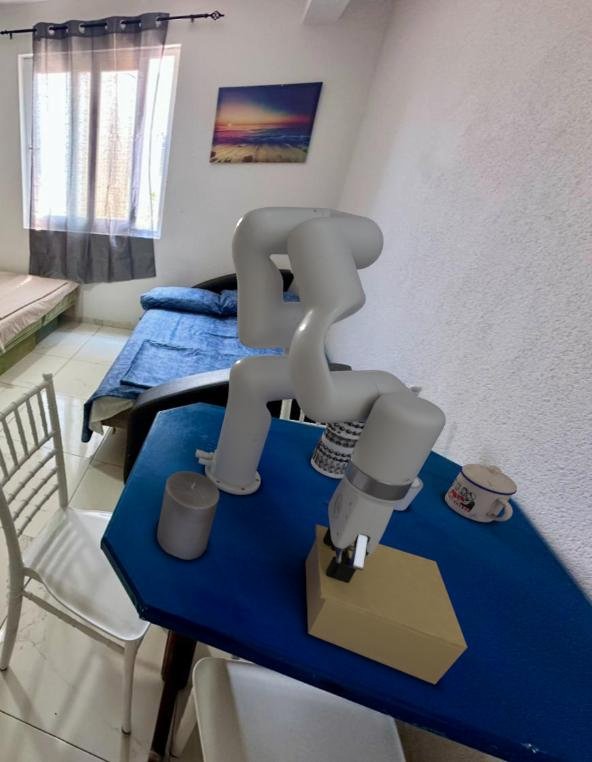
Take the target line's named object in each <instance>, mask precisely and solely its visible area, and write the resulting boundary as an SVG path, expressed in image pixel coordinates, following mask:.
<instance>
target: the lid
mask: <svg viewBox="0 0 592 762" xmlns="http://www.w3.org/2000/svg"><path fill="white" fill-rule="evenodd" d="M314 529H315V530H314V531H315V540H316V544H317V559H318V574H319V589H320V597H321V598H324V599H326V600H329V601H332V602H335V603H337V604H340V605H343V606H345V607H348V608H351V609H353V610H356V611H359V612H362V613H364V614H367V615H370V616H372V617H375V618H378V619H381V620H383V621H386V622H389V623H391V624H394V625H397V626H399V627H402V628H405V629H408V630H410V631H413V632H416V633H418V634H421V635H424V636H427V637H429V638H432V639H435V640H437V641H440V642H443V643H445V644H448V645H451V646H454V647H456V648H459V649H462V650H464V651H466V650H467V649H468V645H467V643H466V640H465V637H464V634H463V631H462V628H461V626H460V623H459V621H458V618H457V615H456V612H455V610H454V607H453V605H452V601H451V599H450V596H449V593H448V591H447V588H446V585H445V583H444V580H443V577H442V574H441V572H440V569H439V567H438V563H437V561H435V560H432V559H428V558H425V557H422V556H419V555H416V554H413V553H409V552H406V551H404V550H400V549H397V548H394V547H390V546H387V545H384V544H380V543H378V545H377V547H376V549H375V550H374V552H373V553H372V554H371V555H370V556H367V557H366V556H365V561H364V567H363V570H362V571H361V570H357V569H356V571H355V573H354V575H353V577H352V578H351V580H350V582H349V583H345V582H342V581H339V580H337V579H334V578H331V577H328V576H327V575H326V570H327V568H328V566H329V564H330V562H331V560H332V558H333V556H337V553H338V549H339V547H336V546H335V545H334V544H332V546H330V545H327V544H325V543H323V538H324V536H325V534H326V532H327V530H328V527H326V526H323V525H321V524H315V527H314ZM351 545H354V543H353V544H351ZM352 553H353V552H352V551H349V550H346V549H345V553H344V556H345V557H348V558H351V557H352Z"/></svg>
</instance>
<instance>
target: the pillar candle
mask: <svg viewBox="0 0 592 762" xmlns="http://www.w3.org/2000/svg"><path fill="white" fill-rule="evenodd" d="M219 490H220V489H219V488H218V487H217V486H216V485H215V484H214V482H212V481H211V480H210V479H209V478H207V476H206V475H204V474H201V473H199V472H195V471H190V470H181V471H177V472H174V473H172V474H171V475H169V477H168V478H167V480H166V483H165V488H164V493H163V497H162V498H163V499H162V503H161V504H162V505H161V510H160V515H159V521H158V526H157V533H156V536H157V537H156V538H157V542H158V544H159V545H160V547H161V548H162V549H163V550H164V551H165V552H166V553H167V554H169V555H171V556H174V557H175V558H178V559H182V560H193V559H196V558H199V557H201V556H202V555H203V553H204V552H205V550H207V547H208V543H209V539H210V534H211V530H212V527H213V523H214V518H215V514H216V511H217V507H218V503H219V499H220V491H219Z"/></svg>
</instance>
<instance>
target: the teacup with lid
mask: <svg viewBox="0 0 592 762" xmlns="http://www.w3.org/2000/svg"><path fill="white" fill-rule="evenodd" d="M459 470H460V472H459V473H458V475H457V477H456V478H455V479H454V481H453V483H452V484H451V487H449V489H448V491H447V492H446V494H445V497H444V500H445V502H446V504H447V505H448V507H450V508H451V509H452V510H453V511H454V512H456V513H458V514H459V515H461V516H463V517H465V518H467V519H469V520H472V521H476V522H480V523H481V522H482V523H491V522H493V521H496V522H505V521H507V520H509V519H511V517H512V515H513V513H514V512H513V511H514V510H513V507H512V505H511V504H510V503H509V502H508V501H509V500H510V499H511V498H512V496H513V495H515V494H516V493H517V490H518V486H517V484H516V482H515V481H514V480H513V479H512V478H511V477H510V476H508V475H507V474H505V473H504V472H502V469H501V468H500V467H499V466H497V465H492V464H491V465H490V464H489V465H483V464H478V463H467V464H464V465H463V466H461V467H460V469H459ZM503 509H504V512H503V514H502V515H501V516H498V515H499V513H500V512H501V511H502V510H503Z"/></svg>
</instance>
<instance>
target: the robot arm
mask: <svg viewBox="0 0 592 762" xmlns="http://www.w3.org/2000/svg"><path fill="white" fill-rule="evenodd" d="M231 242H232V243H231V256H232V262H233V267H234V271H235V276H236V281H237V302H236V303H237V309H236V310H237V312H236V313H237V314H236V315H237V318H236V319H237V320H236V321H237V325H236V326H237V339H238V341H239V343H240V344H241V346H243V347H245V348H247V349H255V350H260V349H261V350H266V349H268V350H270V349H282V350H283V354H261V355H259V354H258V355H250V356H245V357H242V358H240V359H238V360H236V361H235V362H234V363H233V364H232V366H231V368H230V370H229V375H228V376H229V377H228V397H227V403H226V408H225V412H224V417H223V421H222V426H221V430H220V434H219V437H218V442H217V447H216V449H214V452H212V451H210V452H206V451H204V450H200V449H196V452H195V455H194V457H195V458H197V459H198V465H199V464H200V465H205V468H204V473H205V476H206V477H207V478H209V479H210V480H211V481H212V482H214V484H215V485H216V486H217V488H218V490H221V491H223V492H226V493H229V494H232V495H239V496H241V495H242V496H243V495H250V494H254V493H255V492H257V491H258V489H259V488H260V485H261V480H262V479H261V475H260V474H259V472H258V471H257V470H258V467H259V463H260V460H261V457H262V454H263V452H264V451H263V450H264V447H265V444H266V440H267V437H268V435H269V431H270V428H271V423H272V415H271V412H270V410H269V409H268V407H267V404H268V403H269V402H274V401H275V402H276V401H287V400H296V402H297V405H298V407H299V410H301V412H302V413H303V415H304V416H305V417H306V418H308V419H309V420H311V421H313V422H316V423H319V424H326V423H342V422H354V421H358V422H365V425H364V428H363V430H362V432H361V434H360V437H359V439H358V441H357V443H356V446H355V448H354V450H353V452H352V455H351V457H350V459H349V462H348V464H347V466H346V468H345V470H344V473H343V478H340V481H339V483H338V485H337V487H336V489H335V491H334V492H333V494H332V495H331V498H330V500H329V502H328V509H327V510H328V511H327V512H328V522H329V523H328V524H329V525H328V527H327V528H328V530H327V532H326V534H325V536H324V538H323V543H325V544H327V545H330V546H332V544H334V545H335V546H336V547H339V549H338V553H337V556H333V558H332V560H331V562H330V564H329V566H328V568H327V570H326V575H327V576H328V577H331V578H334V579H337V580H339V581H342V582H345V583H349V582H350V580H351V578H352V577H353V575H354V573H355V571H356V569H357V570H361V571H362V570H363V567H364V561H365V556H366V557H367V556H370V555H371V554H372V553H373V552H374V550H375V549H376V547H377V545H378V544H380V542H381V539H382V538H383V536H384V533H385V532H386V529H387V526H388V525H389V523H390V519H391V517H392V514H393V512H394V510H395V509H394V507H395V503H399V502H401V501H403V500H404V498H405V496H406V494H407V493H408V491H409V489H410V487H411V486H412V484H413V482H414V480H415V478H416V477H418V475H419V473H420V471H421V469H422V467H423V466H424V464H425V462H426V460H427V459H428V457H429V455H430V453H431V452H432V450H433V448H434V446H435V444H436V443H437V441H438V439H439V438H440V436H441V433H443V430H444V429H445V426H446V423H447V418H446V417H447V416H446V414H445V412H444V411H443V410H442V409H441V408H440V407H439V406H438V405H436V404H435V403H433V402H432V401H430V400H429V399H426V398H423V397H421V396H417V394H416V393H415V392H413V391H412V390H411V389H410V388H409V387H408V386H407V385H406V384H405V383H404V382H403V381H402V380H401V379H400V378H399V377H397V376H396V375H395V374H393V373H391V372H389V371H387V370H380V369H363V370H362V369H361V370H353V369H352V370H333V371H332V370H331V369H330V367H329V364H328V361H327V356H326V351H325V341H326V336H327V333H328V332H329V329H330V328H331V327H332V325H335V324H336V323H339V322H341V321H343V320H346V319H348V318H349V317H351V316H353V315H355V314H356V313H358V312H359V311H360V310H362V308H363V307H364V306H365V304H366V300H367V297H366V293H365V290H364V288H363V285H362V281H361V278H360V274H359V272H358V270H359V271H360V270H363V269H367V268H369V267H371V266H372V265H373V264H374V263H375V262H377V260H378V259H379V258H380V256H381V254H382V251H383V250H384V249H383V248H384V243H385V242H384V234H383V231H382V229H381V227H380V226H379V224H378V223H377V222H376V221H375V220H373V219H372V218H369V217H367V216H362V215H357V214H354V213H353V214H352V213H349V212H344V211H340V210H337V209H333V208H332V209H331V208H326V207H301V206H299V207H298V206H264V207H259V208H255V209H251V210H249V211H248V212H246V213H245V214H243V216H241V217H240V219H239V220H238V222H237V224H236V226H235V228H234V231H233V235H232V241H231ZM272 255H282V256H283V255H284V256H286V255H287V257H288V261H289V263H290V267H291V271H292V275H293V279H294V282H295V286H296V290H297V294H298V297H299V300H300V301H285V300H284V279H283V275H282V274H281V271H280V270H279V267H278V266H277V265H276V263H275V262H274V261H273V259H272V258H271V256H272ZM330 370H331V371H330ZM353 543H354V545H351V544H353ZM345 549H346V550H349V551H352V552H353V553H352V557H351V558H348V557H345V556H344V553H345Z"/></svg>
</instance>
